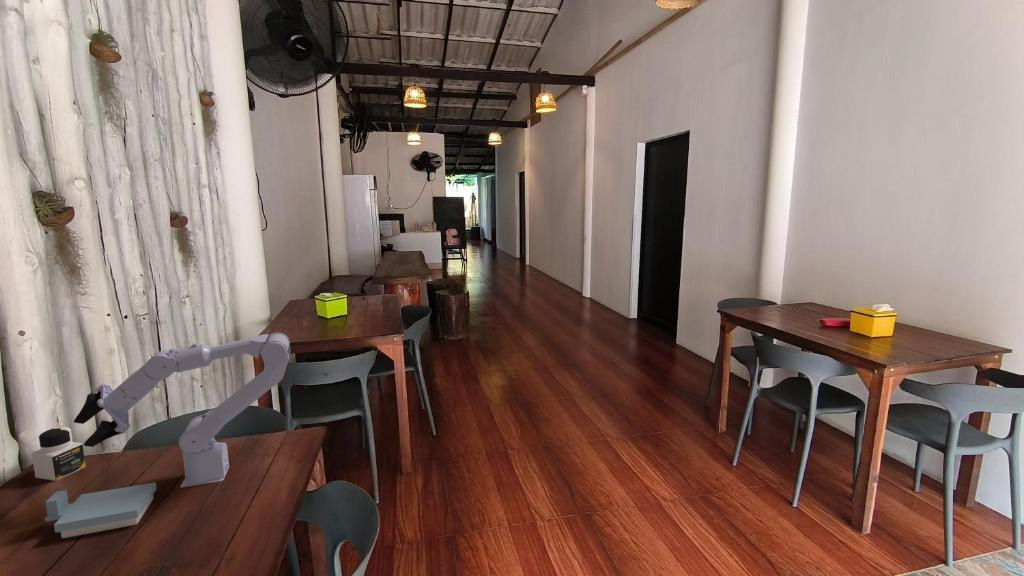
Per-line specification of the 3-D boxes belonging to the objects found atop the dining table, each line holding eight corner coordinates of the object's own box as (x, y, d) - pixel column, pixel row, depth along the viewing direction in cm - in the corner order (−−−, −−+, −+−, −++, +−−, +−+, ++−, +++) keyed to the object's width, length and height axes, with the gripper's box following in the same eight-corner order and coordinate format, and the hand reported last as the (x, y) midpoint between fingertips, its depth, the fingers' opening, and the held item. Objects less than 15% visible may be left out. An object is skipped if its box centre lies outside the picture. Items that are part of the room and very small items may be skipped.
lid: (156, 489, 111) (154, 469, 110) (138, 517, 101) (135, 495, 100) (66, 504, 105) (62, 483, 104) (36, 536, 94) (32, 512, 94)
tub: (153, 500, 110) (152, 487, 110) (137, 526, 101) (135, 512, 101) (86, 512, 106) (84, 498, 105) (62, 540, 97) (59, 525, 96)
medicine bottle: (56, 481, 118) (49, 438, 116) (34, 478, 119) (27, 435, 117) (86, 466, 125) (80, 425, 123) (66, 463, 126) (59, 423, 124)
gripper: (105, 367, 110) (56, 409, 108) (126, 409, 104) (75, 454, 102) (132, 374, 117) (86, 414, 114) (153, 414, 111) (105, 457, 108)
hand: (83, 433), depth 108 cm, fingers open, 7 cm apart
